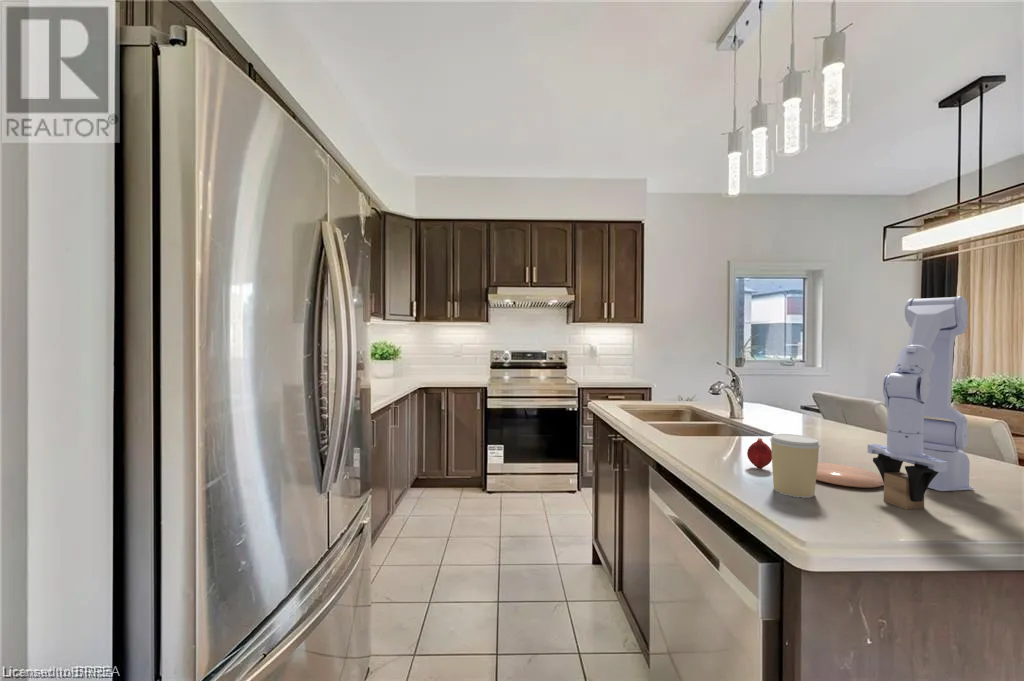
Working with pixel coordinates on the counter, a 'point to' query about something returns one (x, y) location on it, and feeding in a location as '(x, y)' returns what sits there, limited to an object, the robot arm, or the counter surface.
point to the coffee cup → (794, 464)
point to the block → (899, 491)
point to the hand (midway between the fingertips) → (903, 496)
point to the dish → (847, 475)
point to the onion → (759, 454)
